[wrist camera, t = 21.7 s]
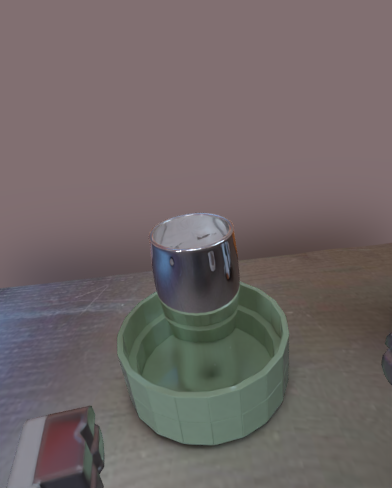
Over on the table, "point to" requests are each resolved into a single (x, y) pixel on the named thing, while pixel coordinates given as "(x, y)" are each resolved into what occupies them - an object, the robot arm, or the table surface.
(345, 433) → the table surface
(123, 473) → the table surface
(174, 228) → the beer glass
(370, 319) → the table surface
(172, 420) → the green pan
